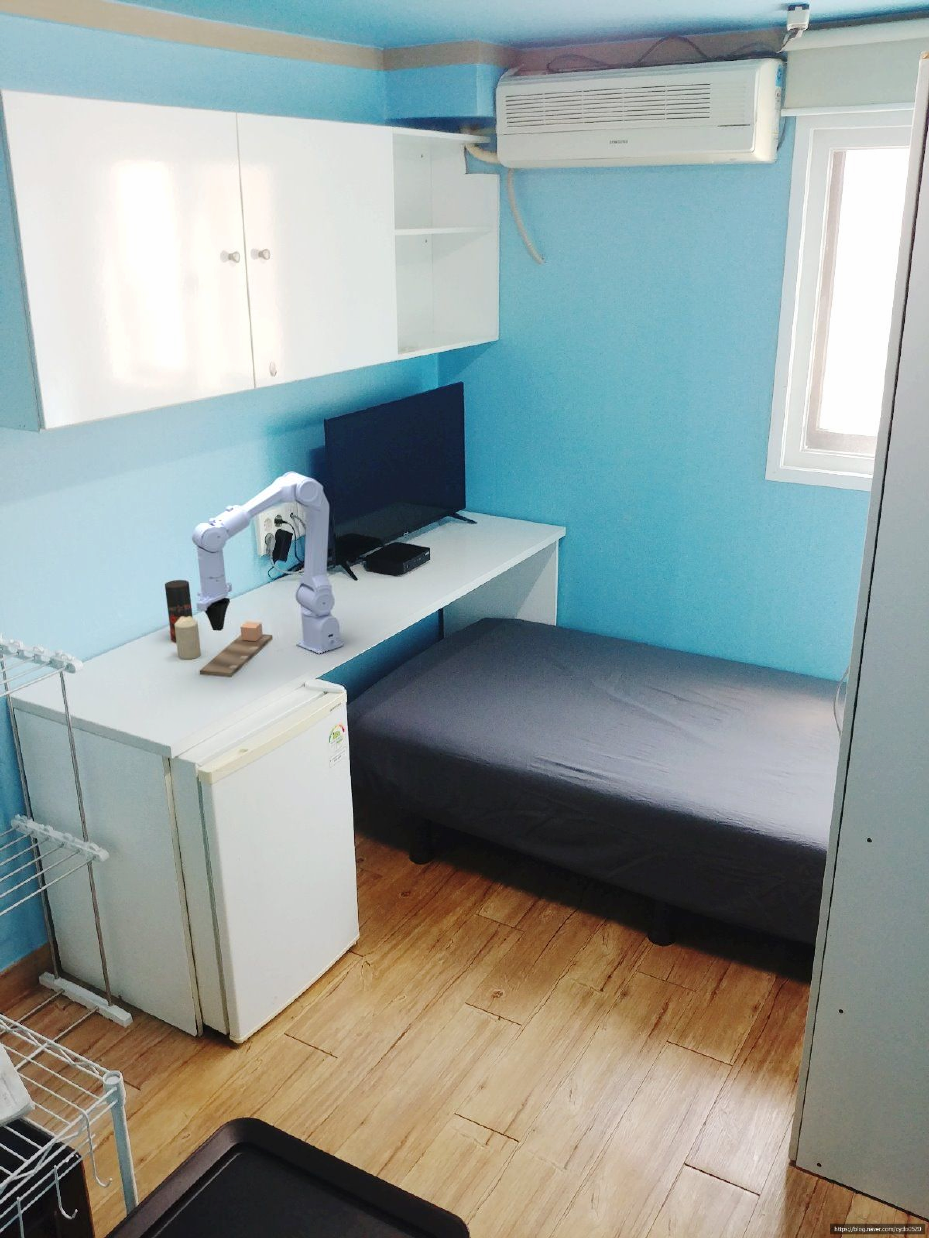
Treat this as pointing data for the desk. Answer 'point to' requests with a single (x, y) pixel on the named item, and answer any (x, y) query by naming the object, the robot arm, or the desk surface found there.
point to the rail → (234, 656)
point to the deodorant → (177, 603)
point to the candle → (187, 638)
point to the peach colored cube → (251, 631)
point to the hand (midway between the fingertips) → (218, 629)
